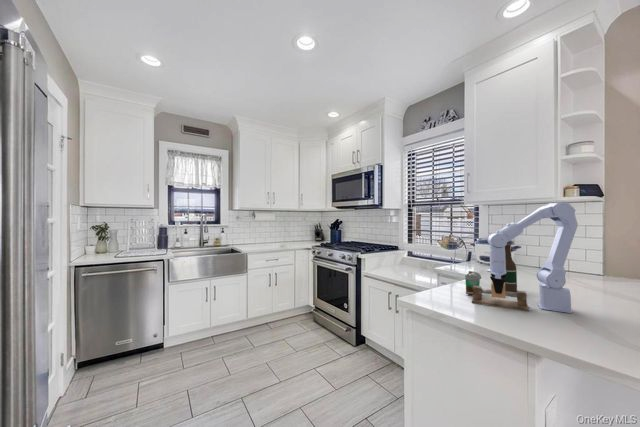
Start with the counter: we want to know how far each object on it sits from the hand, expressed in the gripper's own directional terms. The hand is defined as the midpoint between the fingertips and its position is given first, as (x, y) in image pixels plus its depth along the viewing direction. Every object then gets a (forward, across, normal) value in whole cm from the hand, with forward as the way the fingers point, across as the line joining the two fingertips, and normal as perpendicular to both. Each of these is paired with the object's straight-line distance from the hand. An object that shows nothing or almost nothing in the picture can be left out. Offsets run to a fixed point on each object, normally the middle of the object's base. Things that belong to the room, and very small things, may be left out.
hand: (498, 291), depth 113 cm
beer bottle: (+6, -26, +4) cm, 27 cm away
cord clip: (+2, 0, 0) cm, 2 cm away
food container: (+6, -12, -10) cm, 17 cm away
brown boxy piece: (+5, 0, 0) cm, 5 cm away
